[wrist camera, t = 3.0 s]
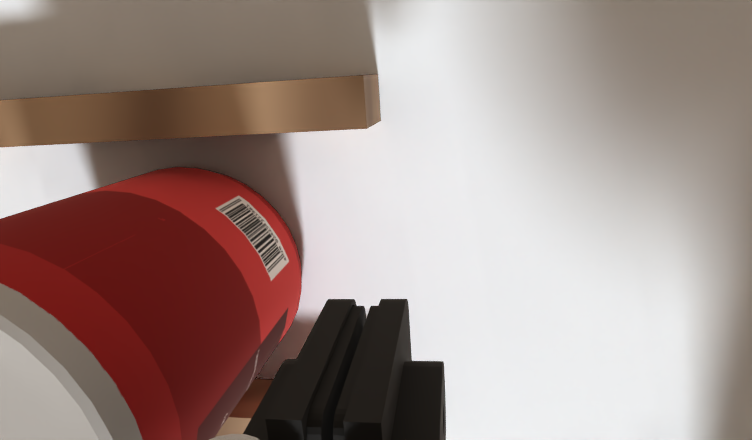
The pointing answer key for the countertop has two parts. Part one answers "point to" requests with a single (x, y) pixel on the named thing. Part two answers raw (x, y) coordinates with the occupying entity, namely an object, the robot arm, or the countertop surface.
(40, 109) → the guide channel
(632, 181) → the countertop surface
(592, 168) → the countertop surface
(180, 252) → the canned food
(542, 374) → the countertop surface
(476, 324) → the countertop surface
